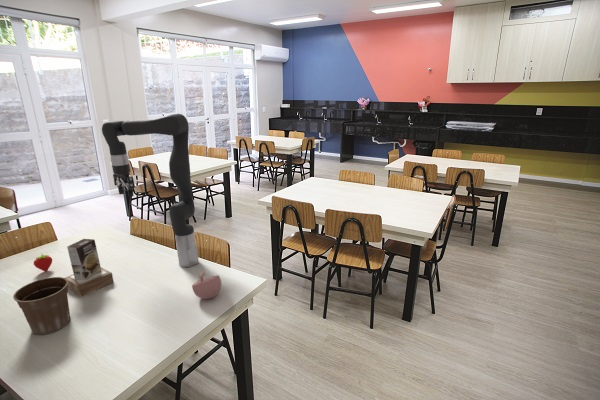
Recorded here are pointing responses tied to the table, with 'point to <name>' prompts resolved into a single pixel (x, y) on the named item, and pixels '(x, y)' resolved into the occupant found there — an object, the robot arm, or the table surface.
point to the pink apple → (207, 286)
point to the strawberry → (43, 262)
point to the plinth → (90, 282)
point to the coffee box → (84, 259)
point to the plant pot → (45, 304)
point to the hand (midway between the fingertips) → (126, 195)
